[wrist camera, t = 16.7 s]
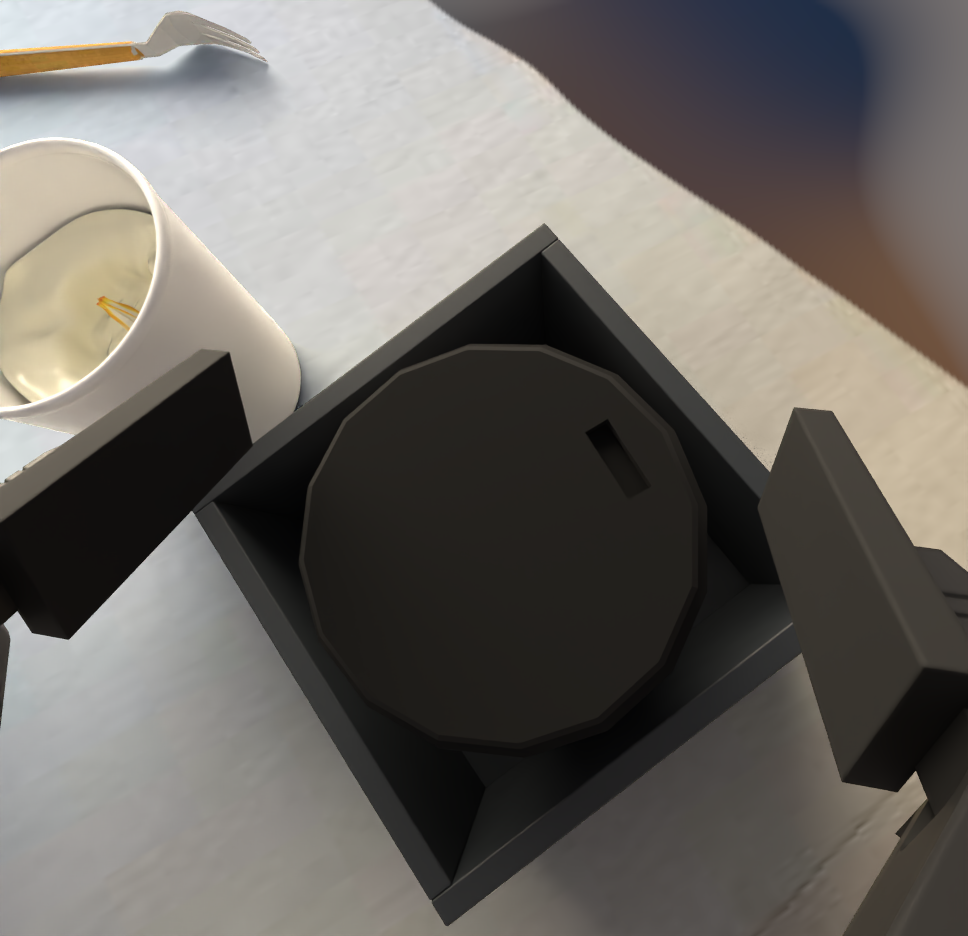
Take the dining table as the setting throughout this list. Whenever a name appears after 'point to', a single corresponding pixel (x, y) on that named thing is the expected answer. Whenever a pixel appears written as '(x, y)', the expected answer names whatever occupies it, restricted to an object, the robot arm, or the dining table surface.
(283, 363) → the candle holder
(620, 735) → the open box
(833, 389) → the dining table surface
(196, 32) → the fork
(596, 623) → the coffee cup
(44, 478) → the robot arm
